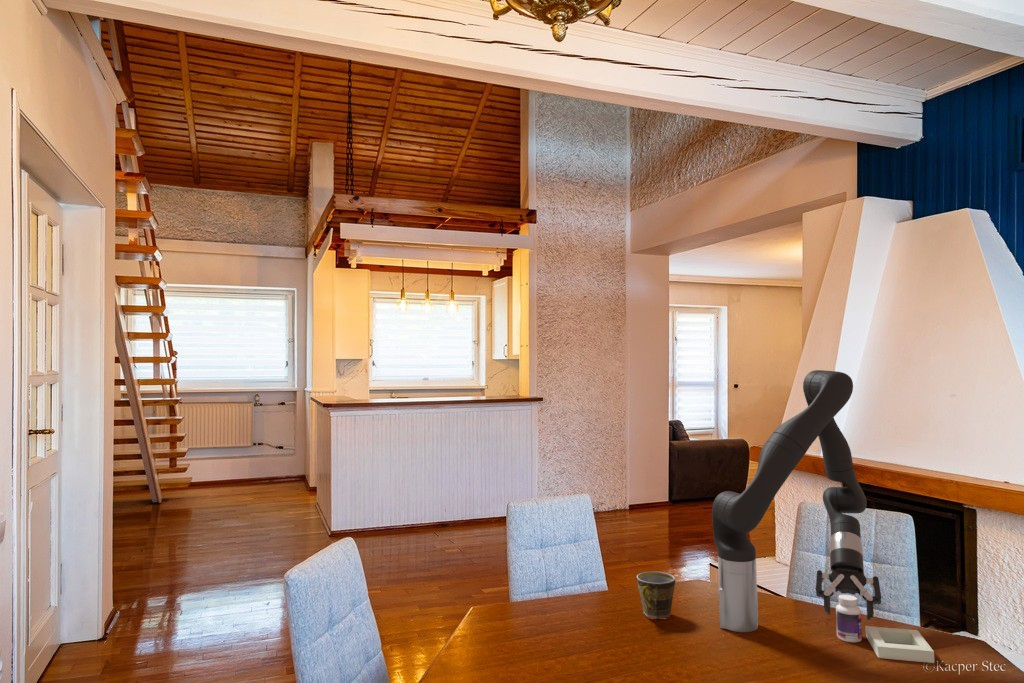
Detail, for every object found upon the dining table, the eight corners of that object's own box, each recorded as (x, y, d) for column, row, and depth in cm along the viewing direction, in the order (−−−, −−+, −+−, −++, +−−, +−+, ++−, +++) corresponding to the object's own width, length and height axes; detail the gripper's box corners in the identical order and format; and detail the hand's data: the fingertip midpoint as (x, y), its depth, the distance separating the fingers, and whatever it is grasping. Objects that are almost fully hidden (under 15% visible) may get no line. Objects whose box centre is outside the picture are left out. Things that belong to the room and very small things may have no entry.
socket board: (878, 657, 148) (877, 646, 149) (866, 636, 160) (865, 626, 160) (934, 663, 145) (933, 651, 145) (917, 640, 157) (917, 630, 157)
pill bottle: (865, 643, 156) (863, 601, 156) (840, 642, 157) (838, 600, 157) (858, 634, 161) (856, 593, 162) (834, 633, 162) (832, 592, 163)
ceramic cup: (647, 606, 183) (646, 569, 183) (682, 613, 177) (681, 575, 178) (626, 621, 173) (625, 582, 173) (662, 629, 167) (661, 589, 167)
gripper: (815, 544, 171) (815, 604, 160) (878, 549, 164) (882, 612, 154) (816, 559, 175) (816, 618, 164) (878, 565, 169) (882, 627, 158)
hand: (848, 615), depth 159 cm, fingers open, 8 cm apart
